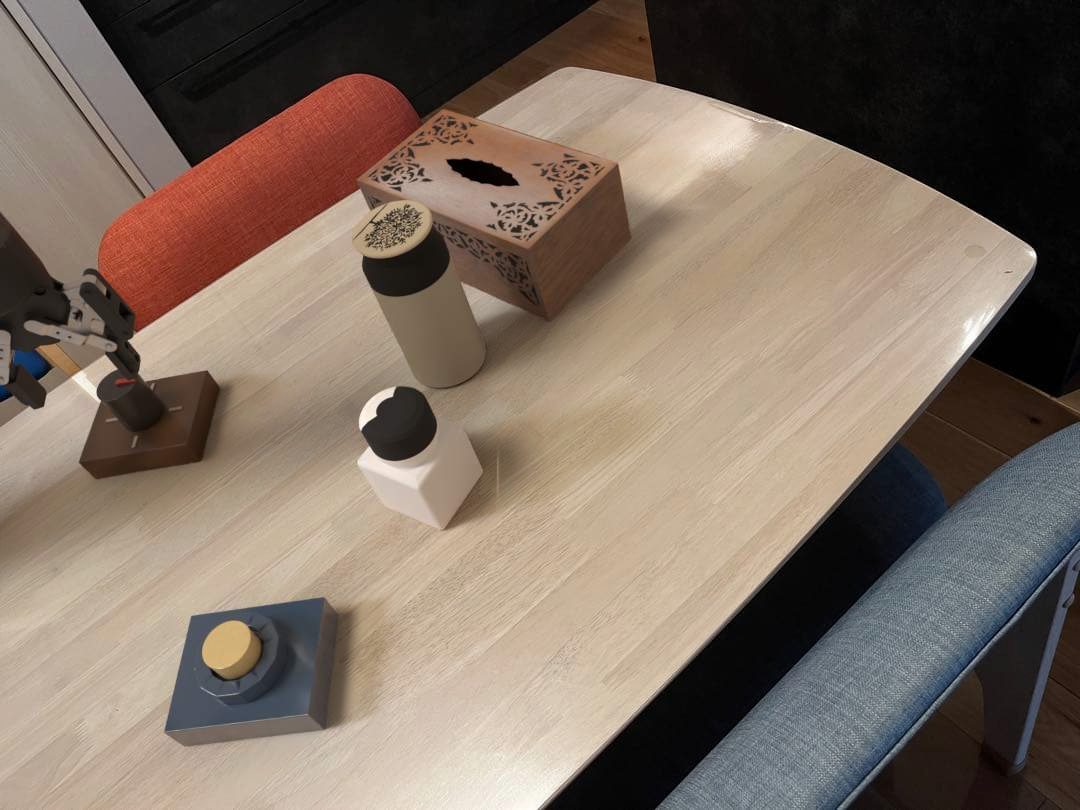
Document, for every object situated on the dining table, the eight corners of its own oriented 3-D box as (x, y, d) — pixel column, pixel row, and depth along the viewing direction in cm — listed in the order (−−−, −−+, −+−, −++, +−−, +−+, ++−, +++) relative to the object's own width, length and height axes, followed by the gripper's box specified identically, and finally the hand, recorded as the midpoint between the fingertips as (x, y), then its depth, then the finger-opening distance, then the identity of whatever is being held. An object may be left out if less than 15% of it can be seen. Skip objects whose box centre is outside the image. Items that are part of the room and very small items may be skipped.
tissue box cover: (386, 247, 109) (356, 180, 101) (466, 177, 114) (443, 108, 107) (549, 321, 95) (528, 249, 87) (631, 237, 100) (618, 163, 93)
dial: (119, 434, 94) (88, 402, 90) (130, 402, 96) (101, 369, 92) (158, 427, 93) (129, 394, 89) (168, 395, 96) (140, 361, 92)
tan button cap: (209, 682, 71) (196, 671, 70) (219, 634, 74) (207, 623, 72) (257, 676, 71) (245, 665, 69) (266, 628, 73) (254, 617, 72)
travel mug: (502, 348, 94) (452, 211, 80) (451, 401, 91) (390, 267, 77) (448, 322, 98) (392, 188, 85) (397, 372, 95) (330, 240, 81)
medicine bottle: (485, 471, 84) (448, 388, 75) (443, 533, 81) (398, 454, 72) (425, 448, 88) (382, 366, 79) (382, 506, 84) (332, 428, 75)
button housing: (184, 747, 73) (150, 724, 69) (209, 631, 80) (179, 605, 76) (325, 730, 71) (298, 706, 68) (338, 613, 78) (315, 586, 74)
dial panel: (95, 479, 95) (77, 461, 92) (120, 405, 101) (104, 387, 99) (201, 461, 93) (186, 443, 91) (220, 387, 99) (206, 368, 97)
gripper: (58, 187, 69) (168, 334, 81) (-119, 242, 69) (18, 380, 81) (41, 248, 64) (162, 395, 76) (-149, 307, 64) (2, 443, 76)
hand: (87, 387), depth 79 cm, fingers open, 8 cm apart
